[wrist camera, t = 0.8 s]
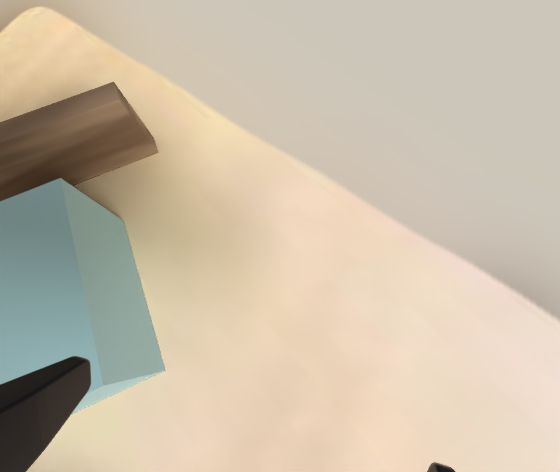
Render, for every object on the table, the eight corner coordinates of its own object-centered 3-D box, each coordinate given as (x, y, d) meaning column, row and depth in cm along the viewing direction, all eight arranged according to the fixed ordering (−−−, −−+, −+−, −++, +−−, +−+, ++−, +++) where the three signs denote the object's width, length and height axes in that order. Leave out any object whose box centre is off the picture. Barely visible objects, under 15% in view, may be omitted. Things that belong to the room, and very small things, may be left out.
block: (166, 370, 23) (103, 385, 16) (16, 440, 22) (-130, 493, 15) (125, 221, 28) (60, 177, 20) (-2, 274, 27) (-120, 248, 19)
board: (158, 152, 30) (118, 99, 23) (-62, 236, 28) (-173, 205, 21) (153, 137, 30) (113, 81, 24) (-62, 219, 29) (-170, 183, 22)
